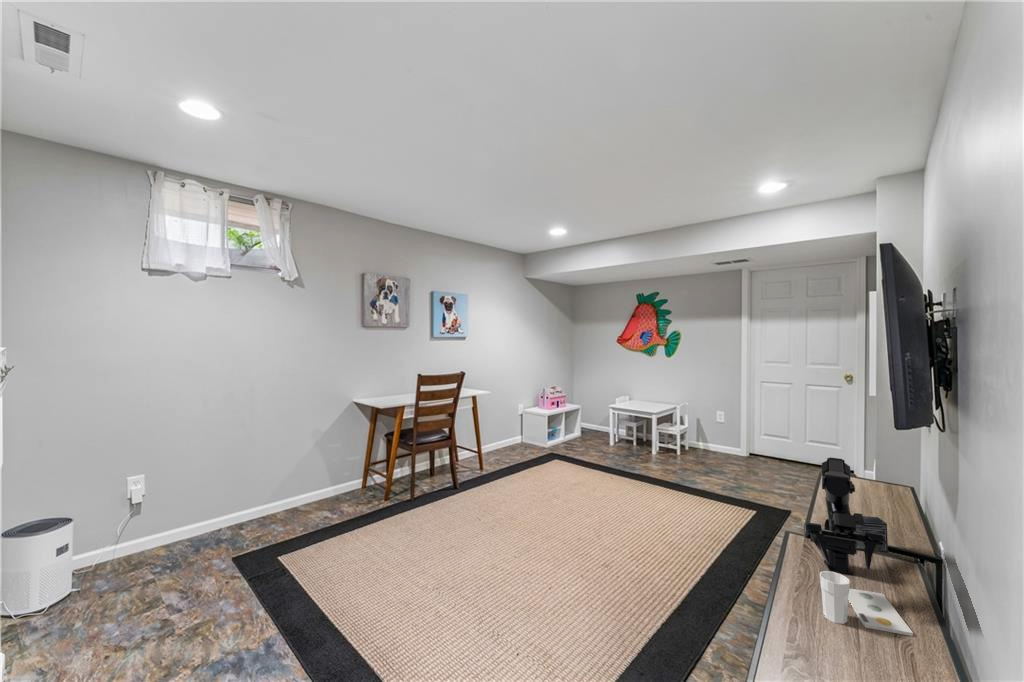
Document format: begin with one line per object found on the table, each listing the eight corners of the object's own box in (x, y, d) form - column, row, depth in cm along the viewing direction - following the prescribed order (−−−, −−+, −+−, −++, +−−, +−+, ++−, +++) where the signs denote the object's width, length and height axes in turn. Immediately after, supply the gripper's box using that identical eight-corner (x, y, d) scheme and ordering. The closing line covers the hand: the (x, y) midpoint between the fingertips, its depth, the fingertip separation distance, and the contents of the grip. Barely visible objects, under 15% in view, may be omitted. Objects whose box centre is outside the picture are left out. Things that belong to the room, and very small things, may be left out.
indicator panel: (841, 589, 130) (841, 586, 130) (882, 596, 126) (882, 593, 126) (865, 627, 113) (865, 623, 113) (913, 636, 109) (913, 632, 109)
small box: (878, 544, 157) (878, 516, 157) (889, 553, 150) (888, 523, 150) (844, 541, 160) (844, 513, 160) (853, 550, 153) (853, 521, 153)
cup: (821, 607, 122) (820, 568, 122) (850, 616, 118) (850, 576, 118) (819, 619, 117) (818, 578, 117) (850, 629, 112) (849, 587, 112)
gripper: (804, 495, 131) (810, 547, 121) (883, 505, 122) (897, 562, 112) (801, 512, 137) (807, 562, 128) (875, 523, 129) (888, 577, 119)
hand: (847, 565), depth 121 cm, fingers open, 9 cm apart
